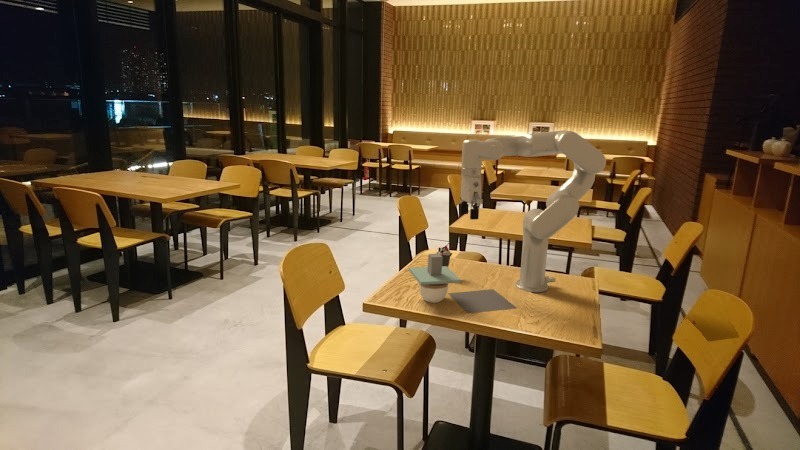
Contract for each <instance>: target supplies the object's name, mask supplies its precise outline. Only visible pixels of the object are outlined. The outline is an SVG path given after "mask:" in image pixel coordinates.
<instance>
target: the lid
mask: <svg viewBox="0 0 800 450" xmlns="http://www.w3.org/2000/svg"><path fill="white" fill-rule="evenodd" d="M442 259H443V257H442V256H441V255H440V254H436V253H428V256H427V266H420V267H417V266H416V267H408V272H410V274H411V276H413V278H414V279H415V280H416V281H417V282H418V283H420V285H428V284H446V283H448V284H458V283H460V284H461V283H462V279H461V278H460V277H459V276H457V274H455V272H454V271H452V270H451V269H450V268H449V266H448V267H447V266H442Z"/></svg>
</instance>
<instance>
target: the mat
mask: <svg viewBox="0 0 800 450" xmlns="http://www.w3.org/2000/svg"><path fill="white" fill-rule="evenodd" d="M447 295H449V296H450V297H451V298H452V300H454V301H455V302H456V303H457V305H459V306H460V307H461V309H463V310H464V311H465V312H466V314H475V313H484V312H493V311H496V312H497V311H504V310H513V309H514V310H516V309H518V307H517V306H515V304H513V303H512V302H510V301H509V300H508V299H506V297H504V296H503V295H502V294H500V293H499V292H498V291H497V290H495V289H491V288H490V289H482V290H481V289H480V290H469V291H458V292H447Z"/></svg>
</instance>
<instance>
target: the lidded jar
mask: <svg viewBox="0 0 800 450" xmlns="http://www.w3.org/2000/svg"><path fill="white" fill-rule="evenodd" d="M418 283H419V282H418ZM418 286H419V288H418V289H419V294H420V296H421V297H422V300H424V301H425V302H427V303H432V304H436V303H441V302H442V301H443V300H444V299H445V298H446V297H447V295H448V290H449V283H446V284H428V285H420V283H419V285H418Z"/></svg>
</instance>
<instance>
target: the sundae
mask: <svg viewBox="0 0 800 450" xmlns="http://www.w3.org/2000/svg"><path fill="white" fill-rule="evenodd" d="M448 245H450V243H449V242H448V243H447V244H446V245H444V246H442V247H438V251H437V252H436V253H435V254H440V255H441V256H442V257H443V259H442V266H447V267H448V268H449V265H450V261H451V257H452V255H453V252H451V251H450V250H449V247H448Z"/></svg>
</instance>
